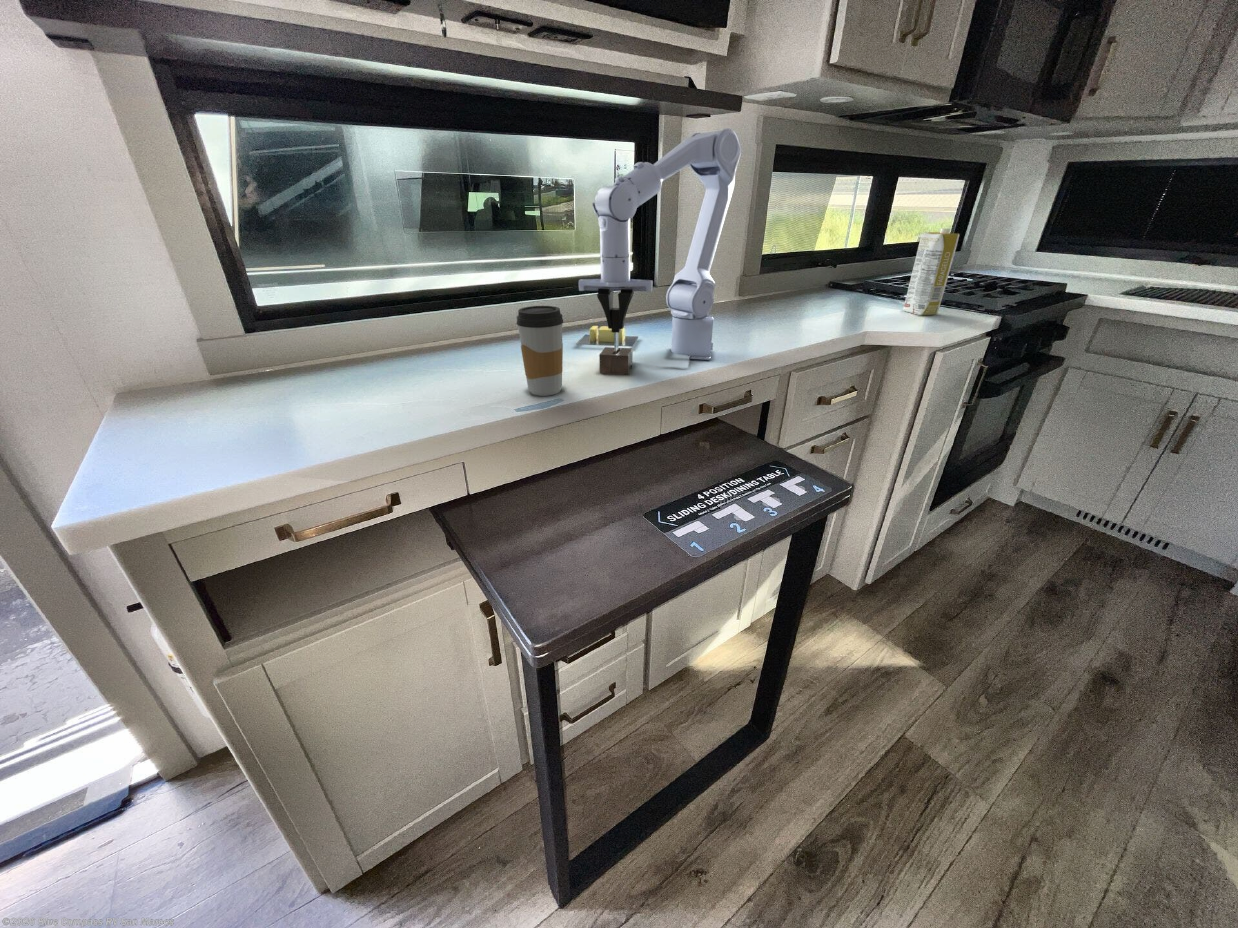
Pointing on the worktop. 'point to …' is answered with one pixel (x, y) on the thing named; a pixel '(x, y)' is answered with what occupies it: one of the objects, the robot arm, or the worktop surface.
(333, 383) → the worktop surface
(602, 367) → the knife block
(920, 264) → the juice carton
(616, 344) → the knife
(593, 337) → the butter slice
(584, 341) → the butter dish
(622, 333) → the butter block
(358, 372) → the worktop surface
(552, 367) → the coffee cup
